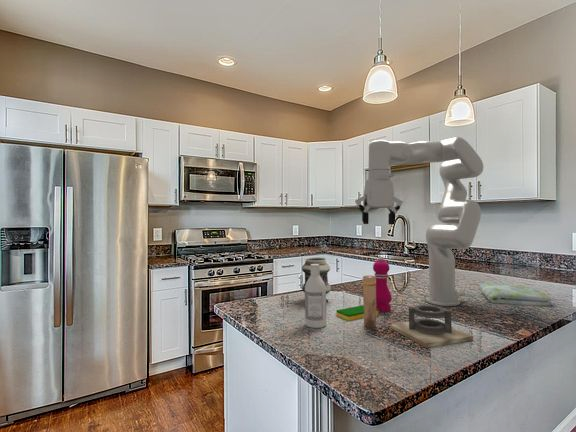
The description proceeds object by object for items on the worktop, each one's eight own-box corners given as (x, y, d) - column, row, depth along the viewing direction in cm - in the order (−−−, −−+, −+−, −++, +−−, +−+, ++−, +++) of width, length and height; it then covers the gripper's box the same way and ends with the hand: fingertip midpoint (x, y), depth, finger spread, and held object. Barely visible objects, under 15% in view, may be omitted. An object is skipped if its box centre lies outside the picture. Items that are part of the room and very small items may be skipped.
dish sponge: (335, 316, 117) (335, 309, 117) (365, 310, 123) (365, 304, 123) (348, 322, 111) (348, 315, 111) (379, 315, 117) (378, 308, 117)
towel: (554, 308, 122) (553, 294, 122) (489, 304, 129) (489, 291, 129) (534, 296, 139) (534, 284, 139) (478, 293, 146) (478, 282, 146)
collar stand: (432, 322, 107) (432, 299, 107) (473, 340, 92) (472, 313, 92) (390, 328, 103) (390, 304, 103) (425, 347, 87) (425, 319, 87)
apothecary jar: (298, 304, 133) (297, 260, 133) (307, 297, 144) (306, 256, 144) (326, 306, 128) (326, 261, 128) (334, 299, 140) (333, 257, 139)
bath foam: (313, 320, 112) (312, 262, 112) (330, 324, 108) (329, 263, 108) (301, 325, 107) (300, 264, 107) (318, 330, 102) (317, 266, 102)
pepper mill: (392, 312, 119) (391, 257, 119) (372, 311, 121) (371, 257, 121) (390, 306, 126) (389, 255, 126) (371, 306, 128) (370, 255, 128)
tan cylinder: (372, 323, 108) (371, 275, 108) (379, 327, 104) (378, 277, 104) (361, 324, 106) (360, 276, 106) (367, 329, 102) (366, 278, 102)
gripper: (396, 178, 120) (396, 224, 120) (352, 176, 118) (351, 223, 117) (407, 175, 113) (406, 224, 113) (360, 173, 110) (359, 223, 110)
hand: (378, 224), depth 115 cm, fingers open, 9 cm apart
